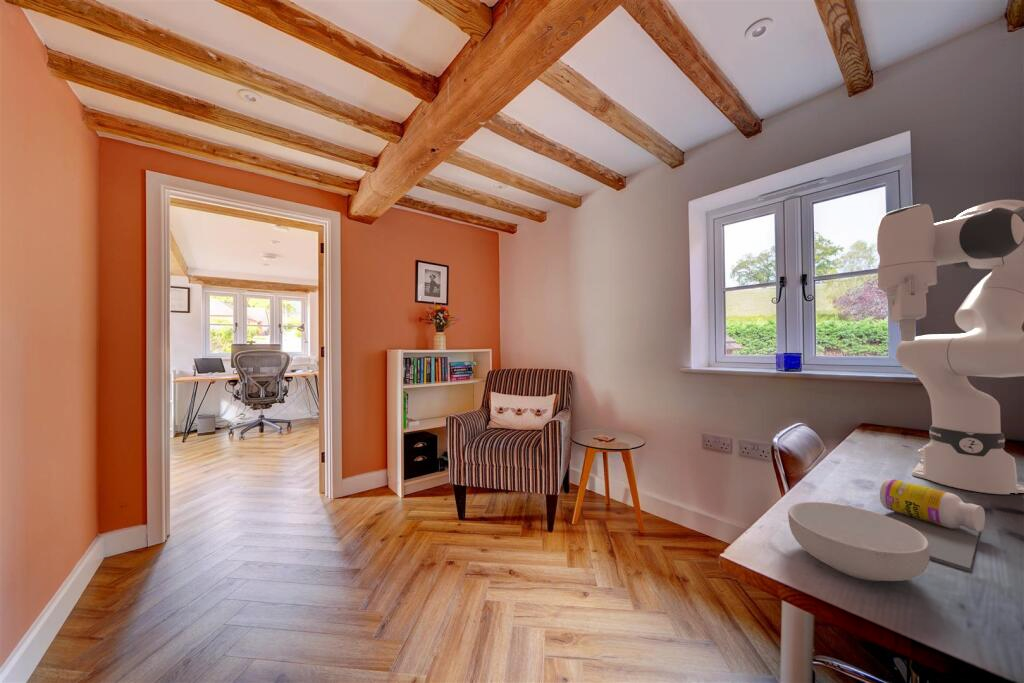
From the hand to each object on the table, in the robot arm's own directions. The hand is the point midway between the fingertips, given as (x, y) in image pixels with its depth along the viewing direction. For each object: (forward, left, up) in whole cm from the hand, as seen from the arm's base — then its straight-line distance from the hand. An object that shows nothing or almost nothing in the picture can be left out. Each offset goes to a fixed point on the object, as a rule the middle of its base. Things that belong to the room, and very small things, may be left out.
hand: (907, 341), depth 80 cm
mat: (+15, +1, -37) cm, 40 cm away
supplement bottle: (+5, -4, -33) cm, 34 cm away
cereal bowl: (+37, -10, -37) cm, 53 cm away
